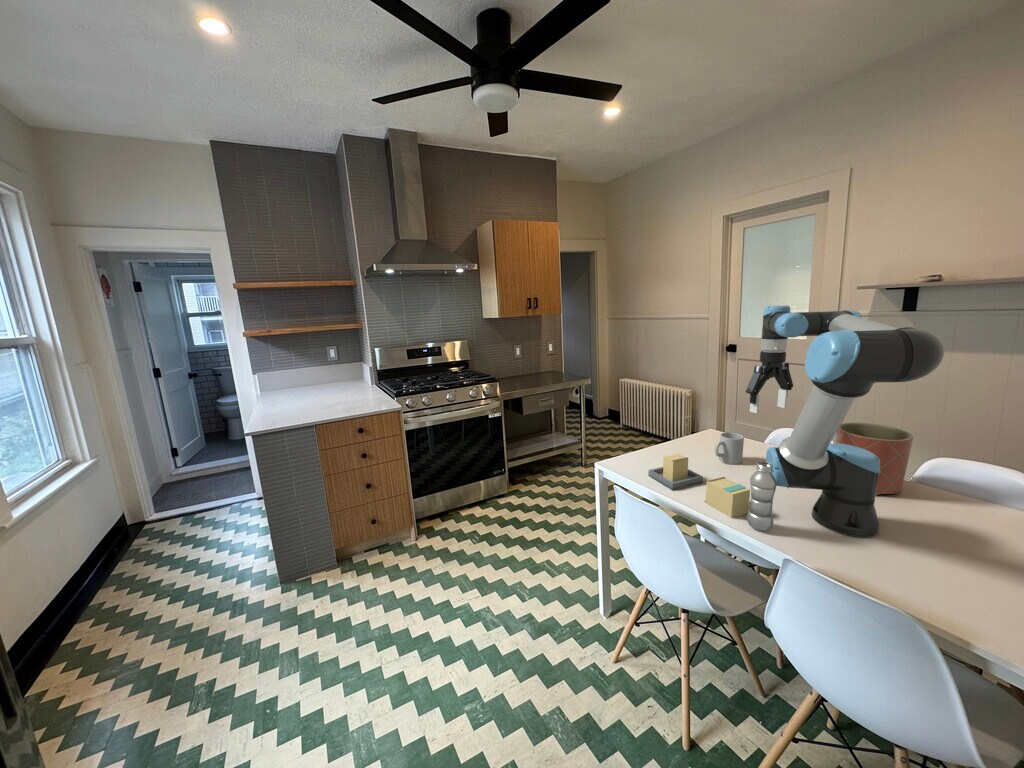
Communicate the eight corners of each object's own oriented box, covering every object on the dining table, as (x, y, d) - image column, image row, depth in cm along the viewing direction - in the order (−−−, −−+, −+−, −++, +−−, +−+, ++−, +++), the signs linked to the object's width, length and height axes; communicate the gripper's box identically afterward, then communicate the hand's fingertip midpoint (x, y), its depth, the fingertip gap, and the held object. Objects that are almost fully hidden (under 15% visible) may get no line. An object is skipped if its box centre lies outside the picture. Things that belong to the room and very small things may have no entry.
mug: (730, 455, 166) (731, 431, 164) (747, 462, 158) (749, 437, 156) (707, 459, 163) (708, 435, 160) (723, 467, 155) (725, 441, 152)
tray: (702, 482, 143) (703, 476, 143) (672, 490, 139) (672, 483, 138) (677, 469, 155) (677, 463, 155) (648, 475, 151) (648, 470, 150)
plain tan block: (687, 478, 145) (688, 457, 144) (672, 481, 143) (673, 461, 141) (677, 473, 150) (678, 453, 148) (663, 476, 148) (663, 456, 146)
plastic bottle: (760, 535, 110) (766, 470, 106) (741, 523, 117) (746, 461, 113) (778, 531, 112) (785, 467, 108) (758, 519, 118) (763, 458, 114)
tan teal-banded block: (748, 512, 122) (750, 489, 120) (731, 517, 120) (733, 493, 118) (719, 497, 132) (721, 475, 130) (703, 502, 130) (705, 479, 128)
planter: (855, 469, 147) (862, 419, 143) (918, 492, 129) (928, 435, 125) (817, 477, 143) (823, 426, 139) (876, 502, 125) (886, 443, 120)
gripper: (787, 346, 142) (782, 402, 146) (736, 352, 134) (732, 411, 138) (809, 348, 135) (802, 407, 139) (756, 355, 127) (751, 417, 131)
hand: (767, 409), depth 138 cm, fingers open, 13 cm apart
